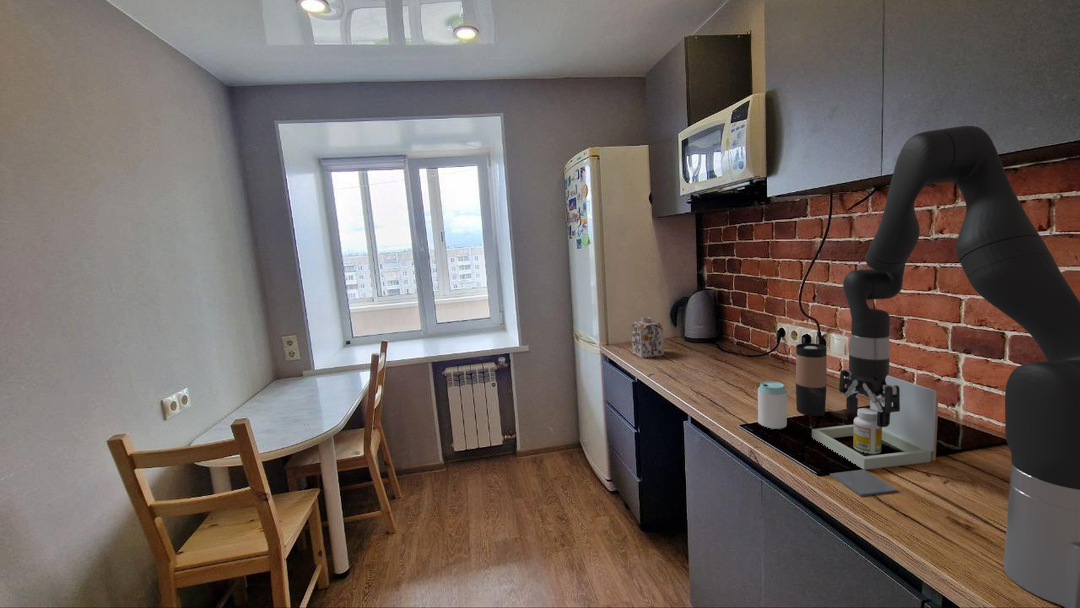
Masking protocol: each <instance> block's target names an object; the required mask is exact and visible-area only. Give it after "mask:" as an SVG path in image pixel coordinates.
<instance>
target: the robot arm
mask: <svg viewBox="0 0 1080 608" xmlns="http://www.w3.org/2000/svg"><path fill="white" fill-rule="evenodd" d="M1005 170H1006V169H1005V168H1004V165H1003V163H1002V160H1001V157H1000V155H999V153H998V151H997V148H996V146H995V144H994V142H993V140H992V138H991V137H990V135H989V134H988V133H987V131H986V130H984V129H983V128H981V127H979V126H975V125H963V126H962V125H961V126H954V127H948V128H940V129H934V130H927V131H922V132H919V133H916V134H913V135H912V136H911V137H909V139H907V141H906V142H905V143H904V145H903V146H902V148H901V150H900V152H899V154H898V157H897V159H896V163H895V165H894V169H893V173H892V177H891V181H890V183H889V187H888V193H887V196H886V201H885V205H884V209H883V213H882V217H881V221H880V223H879V226H878V229H877V230H876V233H875V234H874V237H873V239H872V241H871V242H870V245H869V247H868V250H867V251H866V254H865V258H864V259H865V261H864V262H865V263H866V265H867V266H868V267H869V269H868V268H867V269H856V270H855V269H854V270H850V271H849V272H848V273H847V274H846V276H844V279H843V282H842V288H843V293H844V295H845V298H846V301H847V304H848V308H849V312H850V313H849V314H850V317H851V325H850V327H851V328H850V340H849V345H848V347H849V349H848V369H842V370H840V375H839V385H838V391H839V393H840V394H844V397H845V398H846V400H845V401H846V412H847V413H849V414H854V413H857V412H858V409H859V408H858V405H859V400H858V399H859V398H858V396H860V395H863V396H865V397H868V398H869V400H870V399H871V401H872V402H873V403H875V405H876V407H877V409H878V411H877V426H879V427H887V426H888V425H889V424H890V413H891V412H899V411H900V388H899V386H897V385H895V386H891V385H887V383H886V380H885V378H886V377H887V375H888V376H889V374H890V360H891V359H890V357H891V356H890V355H891V343H890V342H891V341H890V329H891V328H890V325H891V323H890V322H891V321H890V320H891V318H890V314H889V312H888V311H886V310H882V309H878V308H873V307H872V308H871V307H870V306H869V305H868V302H867V301H868V300H869V301H871V300H874V301H875V300H888V299H892V298H894V297H895V296H897V295H898V294H899V293H900V292H901V290H902V288H903V281H904V275H905V274H904V273H905V269H906V263H907V261H908V260H909V258H910V256H911V255H912V252H913V251H914V249H915V247H916V245H917V243H918V240H919V237H920V233H921V232H920V230H921V228H920V223H919V220H918V217H917V214H916V211H915V202H916V201H917V197H918V196H919V194H920V193H921V191H922V190H923V189H924V187H925V186H927V185H935V184H943V183H949V182H950V183H951V182H952V183H954V184H955V185H956V186H957V188H958V189H959V191H960V193H961V196H962V198H963V200H964V203H965V207H966V208H965V209H966V210H965V216H964V219H963V222H962V225H961V227H960V231H959V233H958V235H957V239H956V244H955V253H956V256H957V259H958V261H959V263H960V266H961V267H962V270H963V272H964V273H965V275H966V277H967V279H968V281H969V283H970V285H971V287H972V288H973V289H974V291H975V292H976V293H977V294H979V296H980V297H982V298H983V299H984V300H985V301H987V303H989V304H991V305H992V306H994V307H995V308H996V309H998V310H999V311H1000V312H1001V313H1002V314H1004V315H1006V316H1007V317H1008V318H1010V319H1011V320H1013V321H1014V322H1015V323H1017V324H1018V325H1019V326H1021V327H1022V328H1023V329H1024V330H1025V331H1026V332H1027V333H1028V334H1029V335H1030V336H1031V337H1032V338H1033V340H1034V341H1035V342H1036V344H1037V346H1038V347H1039V349H1040V350H1041V351H1042V354H1043V356H1044V357H1045V359H1046V360H1047V361H1035V362H1027V363H1024V364H1023V363H1022V364H1021V365H1019V366H1017V367H1015V369H1013V370H1012V372H1011V373H1010V374H1009V376H1008V378H1007V381H1006V383H1005V384H1006V385H1005V389H1004V390H1005V391H1004V427H1005V428H1004V431H1005V432H1004V434H1005V436H1004V437H1005V439H1006V443H1007V446H1008V448H1009V451H1010V453H1011V455H1010V456H1011V458H1010V459H1011V460H1010V462H1011V463H1010V475H1009V485H1008V486H1009V490H1008V498H1007V499H1008V500H1007V501H1008V502H1007V513H1006V526H1005V527H1006V530H1005V541H1004V554H1003V555H1004V557H1003V569H1004V570H1003V571H1004V572H1005V574H1006V575H1007V577H1008V578H1009V579H1010V580H1011V581H1013V582H1014V583H1015V584H1016V585H1017V586H1019V587H1021V588H1023V589H1024V590H1025V591H1026V592H1029V593H1031V594H1033V595H1034V596H1037V597H1039V598H1041V599H1044V600H1046V601H1048V602H1051V603H1054V604H1056V605H1059V606H1062V607H1064V608H1080V300H1079V298H1078V297H1077V295H1076V294H1075V292H1074V291H1073V289H1072V287H1071V285H1070V284H1069V283H1068V281H1067V279H1066V278H1065V276H1064V275H1063V273H1062V272H1061V269H1060V268H1059V266H1058V265H1057V262H1056V261H1055V258H1054V256H1053V254H1052V253H1051V251H1050V250H1049V249H1048V246H1047V245H1046V243H1045V241H1044V240H1043V238H1042V236H1041V234H1039V232H1038V231H1037V229H1036V228H1035V226H1034V224H1033V223H1032V221H1031V220H1030V218H1029V216H1028V215H1027V213H1026V211H1025V210H1024V207H1023V206H1022V204H1021V201H1020V200H1019V199H1018V196H1017V195H1016V193H1015V191H1014V189H1013V187H1012V184H1011V183H1010V180H1009V178H1008V176H1007V173H1006V171H1005ZM879 395H881V397H882V398H877V397H878V396H879ZM881 402H882V403H883V404H884V406H882V404H881ZM892 402H893V406H892Z"/></svg>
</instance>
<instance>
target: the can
mask: <svg viewBox="0 0 1080 608" xmlns="http://www.w3.org/2000/svg"><path fill="white" fill-rule="evenodd" d="M787 399H788V392H787V389H786V388H785V384H783V383H782V382H779V381H770V380H766V381H762V382H760V385H759V387H758V388H757V422H758V425H760V426H762V427H763V426H764V427H763V428H765V427H767V428H766V429H768V428H770V429H769V430H774V429H778V430H782V429H784V428H786V427H787V424H788V418H787V417H788V413H787V412H788V410H787V408H788V407H787V406H788V400H787Z"/></svg>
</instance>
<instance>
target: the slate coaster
mask: <svg viewBox="0 0 1080 608" xmlns="http://www.w3.org/2000/svg"><path fill="white" fill-rule="evenodd" d="M829 476H830V477H832V478H833V479H835V480H836V481H837V482H839V483H840V484H842V485H843V486H844V487H846V488H847V489H849V490H850V491H852V492H853V493H855V494H856V495H858V496H859V497H863V496H864V497H866V496H872V495H873V496H874V495H881V494H890V493H896V492H898V489H897V488H896V487H894V486H893V485H890V484H889V483H887V482H885V480H882V479H880V478H879V477H877V476H876V475H874V474H872V473H871V472H869V471H867V469H866V470H864V469H857V470H848V471H840V472H833V473H829Z"/></svg>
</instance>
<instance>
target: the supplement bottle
mask: <svg viewBox="0 0 1080 608" xmlns="http://www.w3.org/2000/svg"><path fill="white" fill-rule="evenodd" d="M856 413H857V416H855V417H854V419H853V425H854V434H853V436H852V437H853V441H852V442H853V443H852V444H853V448H854V449H855V451H859V452H860V453H863V452H864V454H867V453H868V454H869V455H879V454H880V453H881V452H882V444H883V443H882V441H883V440H882V427H879V426H877V411H876V410H873V409H870V408H868V407H862V408H858V409H857V412H856Z"/></svg>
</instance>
